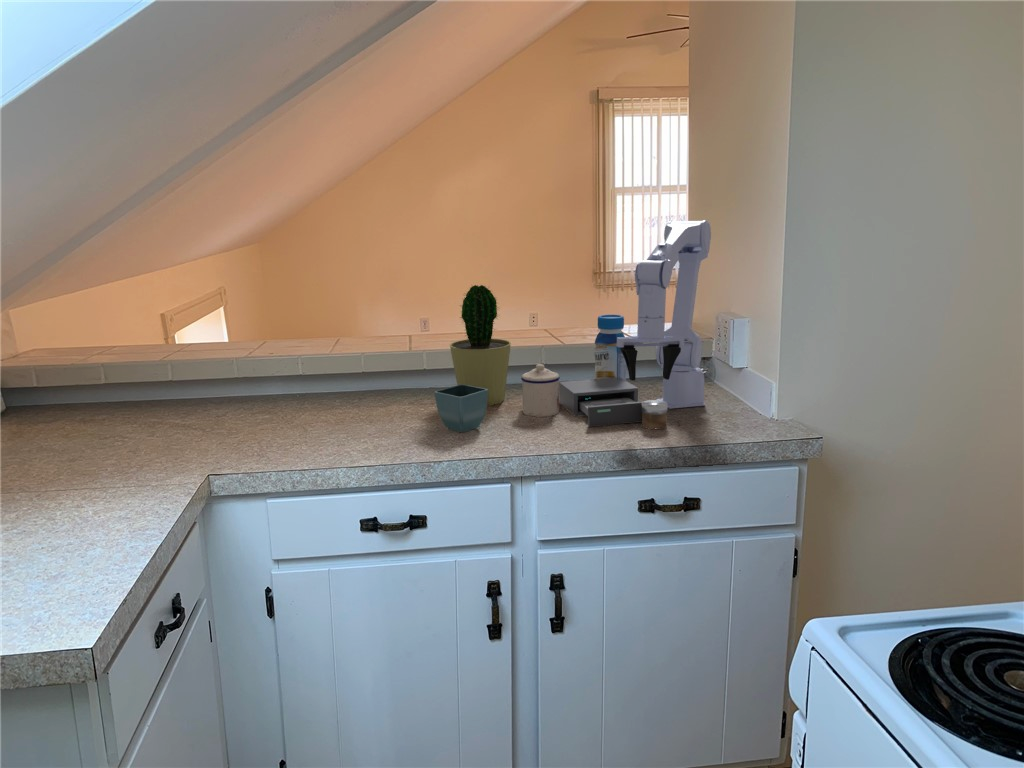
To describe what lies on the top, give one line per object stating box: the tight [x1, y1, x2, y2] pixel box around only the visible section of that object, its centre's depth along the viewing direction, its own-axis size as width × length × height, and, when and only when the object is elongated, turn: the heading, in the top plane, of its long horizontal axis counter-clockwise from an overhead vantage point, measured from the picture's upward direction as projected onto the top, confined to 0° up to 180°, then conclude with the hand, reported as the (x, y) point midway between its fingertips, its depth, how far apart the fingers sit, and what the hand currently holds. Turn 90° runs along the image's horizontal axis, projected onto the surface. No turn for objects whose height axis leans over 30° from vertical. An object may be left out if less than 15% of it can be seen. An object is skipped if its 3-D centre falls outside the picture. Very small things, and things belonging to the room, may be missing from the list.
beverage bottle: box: [593, 314, 627, 381], centre depth 193 cm, size 8×8×20 cm
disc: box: [641, 399, 669, 415], centre depth 163 cm, size 6×6×2 cm
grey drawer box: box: [559, 377, 639, 417], centre depth 181 cm, size 16×13×5 cm
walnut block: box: [641, 412, 668, 430], centre depth 164 cm, size 4×4×4 cm
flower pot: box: [433, 384, 488, 434], centre depth 165 cm, size 9×9×9 cm
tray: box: [579, 398, 643, 427], centre depth 171 cm, size 16×12×4 cm
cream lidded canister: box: [520, 363, 561, 418], centre depth 178 cm, size 12×9×12 cm
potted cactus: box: [449, 284, 512, 407], centre depth 186 cm, size 15×15×30 cm
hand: (649, 379), depth 161 cm, fingers open, 7 cm apart
